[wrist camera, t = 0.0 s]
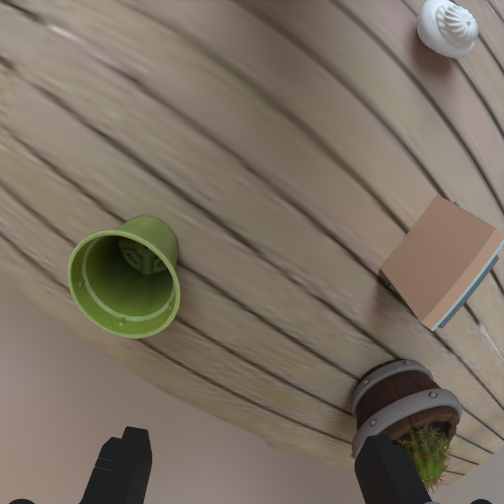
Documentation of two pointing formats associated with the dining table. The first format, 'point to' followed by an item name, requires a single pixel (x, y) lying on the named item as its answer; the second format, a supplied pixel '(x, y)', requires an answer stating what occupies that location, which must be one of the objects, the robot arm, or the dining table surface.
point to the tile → (441, 259)
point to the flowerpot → (407, 414)
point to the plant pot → (127, 278)
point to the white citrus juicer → (447, 28)
